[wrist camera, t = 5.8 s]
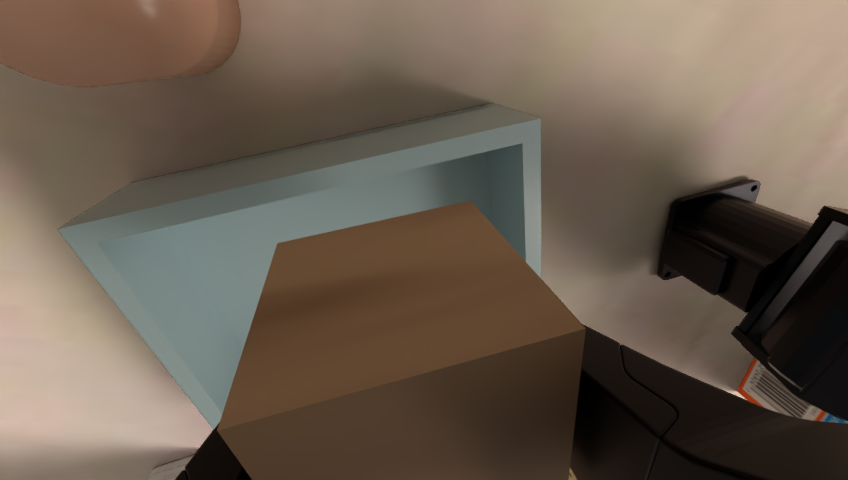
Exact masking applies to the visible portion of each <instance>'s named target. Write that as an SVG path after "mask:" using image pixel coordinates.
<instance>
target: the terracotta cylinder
mask: <svg viewBox="0 0 848 480" xmlns="http://www.w3.org/2000/svg"><path fill="white" fill-rule="evenodd" d="M240 26H241V17H240V9H239V3H238V0H0V63H2V64H4V65H6V66H8V67H10V68H12V69H14V70H17V71H19V72H21V73H23V74H26V75H29V76H32V77H35V78H37V79H40V80H43V81H48V82H52V83H56V84H60V85H68V86H76V87H96V86H105V85H113V84H122V83H130V82H139V81H147V80H156V79H165V78H173V77H182V76H190V75H199V74H203V73H207V72H210V71H212V70H214V69H216V68H218V67H219V66H221V65H222V64H223V63H224V62H225V61H226V60H227V59H228V58H229V57H230V56H231V54H232V53H233V51H234V49H235V47H236V45H237V42H238V39H239V34H240Z"/></svg>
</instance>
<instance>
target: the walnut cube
mask: <svg viewBox="0 0 848 480" xmlns="http://www.w3.org/2000/svg"><path fill="white" fill-rule="evenodd" d="M585 331H586V328H585V327H584V326H583V325H582V324H581V323H580V321H579V320H578V319H577V318H576V317H575V316H574V315H573V314H572V313H571V312H570V310H569V309H568V308H567V307H566V306H565V305H564V304H563V303H562V302H561V300H560V299H559V298H558V297H557V296H556V295H555V294H554V293H553V292H552V290H551V289H550V288H549V287H548V286H547V285H546V284H545V283H544V282H543V280H542V279H541V278H540V277H539V276H538V275H537V274H536V273H535V272H534V270H533V269H532V268H531V267H530V266H529V265H528V264H527V263H526V262H525V260H524V259H523V258H522V257H521V256H520V255H519V254H518V253H517V252H516V250H515V249H514V248H513V247H512V246H511V245H510V244H509V243H508V242H507V241H506V239H505V238H504V237H503V236H502V235H501V234H500V233H499V232H498V231H497V229H496V228H495V227H494V226H493V225H492V224H491V223H490V222H489V221H488V219H487V218H486V217H485V216H484V215H483V214H482V213H481V212H480V211H479V209H478V208H477V207H476V206H475V205H474V204H473V203H472V202H471V201H466V202H462V203H457V204H453V205H448V206H443V207H439V208H434V209H430V210H425V211H421V212H416V213H412V214H407V215H403V216H398V217H394V218H389V219H385V220H380V221H376V222H371V223H366V224H362V225H357V226H353V227H348V228H344V229H339V230H335V231H330V232H326V233H321V234H317V235H312V236H308V237H303V238H299V239H294V240H289V241H285V242H280V243H277V246H276V249H275V252H274V255H273V258H272V261H271V265H270V268H269V271H268V274H267V277H266V280H265V283H264V286H263V289H262V292H261V296H260V299H259V302H258V305H257V308H256V311H255V314H254V317H253V320H252V323H251V327H250V330H249V333H248V336H247V339H246V342H245V345H244V348H243V351H242V355H241V358H240V361H239V364H238V367H237V370H236V373H235V376H234V379H233V382H232V386H231V389H230V392H229V395H228V398H227V401H226V404H225V407H224V410H223V413H222V417H221V420H220V423H219V426H218V429H217V431H218V433H219V434H220V435H221V437H222V438H223V440H224V441H225V442H226V444H227V445H228V447H229V448H230V449H231V451H232V452H233V454H234V455H235V456H236V458H237V459H238V461H239V462H240V463H241V465H242V466H243V468H244V469H245V470H246V472H247V473H248V475H249V476H250V477H251V479H252V480H568V479H569V471H570V462H571V453H572V444H573V436H574V427H575V418H576V410H577V401H578V392H579V383H580V375H581V366H582V357H583V349H584V340H585Z"/></svg>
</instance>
